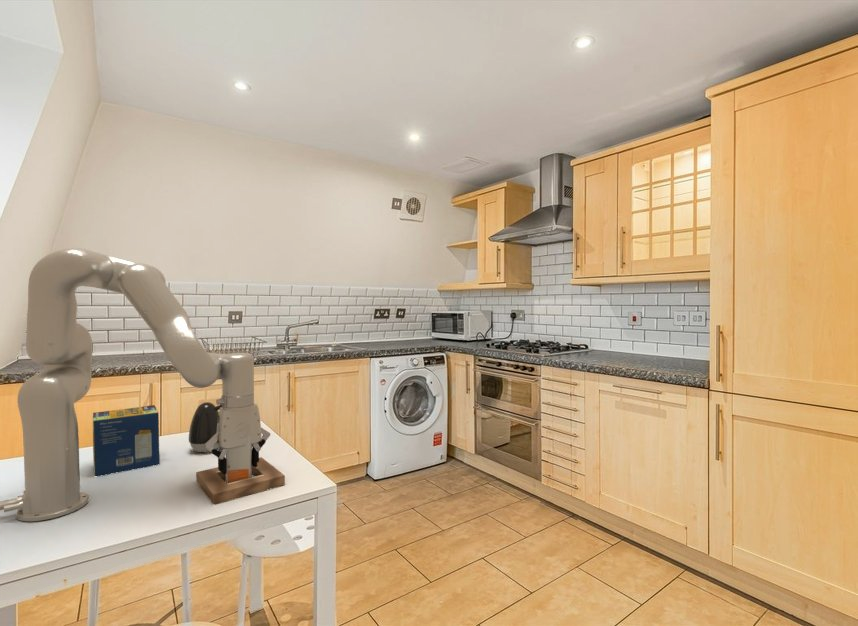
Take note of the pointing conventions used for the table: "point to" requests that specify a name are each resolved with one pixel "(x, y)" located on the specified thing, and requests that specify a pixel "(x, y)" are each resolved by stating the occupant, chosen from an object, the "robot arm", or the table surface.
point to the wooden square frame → (239, 482)
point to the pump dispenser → (204, 426)
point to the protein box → (125, 439)
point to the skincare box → (239, 463)
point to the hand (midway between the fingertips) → (239, 468)
